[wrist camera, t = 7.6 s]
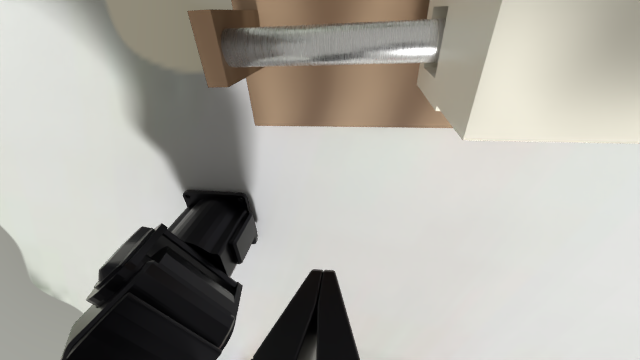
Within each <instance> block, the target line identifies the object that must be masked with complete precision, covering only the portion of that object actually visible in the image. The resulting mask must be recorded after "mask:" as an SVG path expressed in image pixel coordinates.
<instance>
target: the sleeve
mask: <svg viewBox="0 0 640 360" xmlns="http://www.w3.org/2000/svg"><path fill="white" fill-rule="evenodd" d="M441 18H446V23H445V28H444V33H443V38H442V44H441V49H440V54H439V59H438V63H420V66H419V73H418V79H417V86H418V87H419V88H420V90H421V91H422V93H423V94H424V95H425V97H426V98H427V100H428V101H429V102H430V104H431V105H432V107H433V108H434V110H435V111H441V112H442V114H443V115H444V116H445V118H446V119H447V120H448V122H449V123H450V124H451V126H452V127H453V128H454V129H455V131H456V132H457V133H458V135H459V136H460V137H461V139H462V140H463V141H514V142H567V143H620V144H640V0H430V2H429V8H428V15H427V19H441Z"/></svg>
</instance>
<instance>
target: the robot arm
mask: <svg viewBox="0 0 640 360" xmlns="http://www.w3.org/2000/svg"><path fill="white" fill-rule="evenodd" d="M183 197H184V200H185V202H186V204H187V208H186V209H185V211H184V212H183V213H182V214H181V215H180V216H179V217H178V218H177V219H176V220H175V222H174V223H173V224H172V225H171V226H170V227H169V228H168V229H167V227H166V226H165V225H164V224H162V223H161V224H160V225H159V226H157V227H156V228H155V229H153V228H147V227H141V228H140V229H138V230H137V231H136V232H135V233H134V234H133V235H132V236H131V237H130V238H129V239H128V240H127V241H126V242H125V243H124V244H123V245H122V246H121V247H120V248H119V249H118V250H117V251H116V252H115V253H114V254H113V255H112V256H111V257H110V259H109V260H108V261H107V262H106V263H105V264H104V265H103V266H102V267H101V268H100V269H99V281H98V282H97V283H96V285H95V286H94V290H93V291H92V292H91V293H90V295H89V296H88V297H87V299H86V301H88V302H90V303H92V304H93V305H92V306H91V307H90V308H89V309H88V310H87V311H86V312H85V313H84V314H83V315H82V316H81V317H80V318H79V319H78V320H77V321H76V323H75V324H74V325H73V327H72V329H71V332H70V335H69V337H68V340H67V343H66V346H65V349H64V352H63V355H62V357H61V360H216V359H217V358H218V357H219V356H220V354H221V352H222V350H223V349H224V347H225V346H226V344H227V343H228V341H229V339H230V337H231V335H232V332H233V329H234V326H235V321H236V316H237V311H238V306H239V301H240V296H241V291H242V285H241V284H240V283H239V282H235V281H234V280H233V279H232V278H230V276H231V274H232V272H233V270H234V269H235V267H236V265H237V264H241V263H242V262H243V260H244V258H245V256H246V254H247V252H248V250H249V248H250V246H251V244H255V243H256V242H257V240H258V238H257V229H256V225H255V221H254V217H253V214H252V213H251V210H250V206H249V202H248V198H247V196H246V195H245V194H244V193H233V192H214V191H195V190H187V191H185V192H184V193H183ZM241 198H242V199H241ZM251 360H360V358H359V354H358V351H357V347H356V344H355V340H354V337H353V333H352V330H351V326H350V323H349V319H348V316H347V312H346V308H345V305H344V301H343V298H342V294H341V291H340V287H339V284H338V280H337V277H336V273H335V271H334V270H324V271H323V270H318V269H313V270H312V271H311V272H310V273H309V275H308V276H307V278H306V279H305V281H304V282H303V284H302V285H301V287H300V288H299V290H298V291H297V292H296V294H295V295H294V297H293V298H292V300H291V301H290V303H289V304H288V306H287V307H286V309H285V310H284V312H283V313H282V315H281V316H280V318H279V319H278V321H277V322H276V324H275V325H274V327H273V328H272V329H271V331H270V332H269V334H268V335H267V337H266V338H265V340H264V341H263V343H262V344H261V346H260V347H259V349H258V350H257V352H256V353H255V355H254V356H253V359H251Z"/></svg>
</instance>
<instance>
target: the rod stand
mask: <svg viewBox="0 0 640 360" xmlns="http://www.w3.org/2000/svg"><path fill="white" fill-rule="evenodd" d="M231 1H232V6H233V10H197V11H188V15H189V19H190V22H191V26H192V30H193V33H194V37H195V41H196V44H197V48H198V52H199V55H200V59H201V63H202V66H203V70H204V74H205V77H206V81H207V85H208V87H230V86H231V85H233V84H235V83H237V82H239V81H240V80H242V79H244V78H246V80H247V85H248V90H249V96H250V101H251V106H252V111H253V117H254V122H255V126H333V127H415V128H453V127H452V126H451V124H450V123H449V122H448V120H447V119H446V118H445V116H444V115H443V114H442V112H441V111H435V110H434V108H433V107H432V105H431V104H430V102H429V101H428V100H427V98H426V97H425V95H424V94H423V93H422V91H421V90H420V88H419V87H418V86H417V79H418V73H419V66H420V63H438V59H439V54H440V49H441V44H442V38H443V33H444V28H445V23H446V18H441V19H427V15H428V8H429V2H430V0H231Z"/></svg>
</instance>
